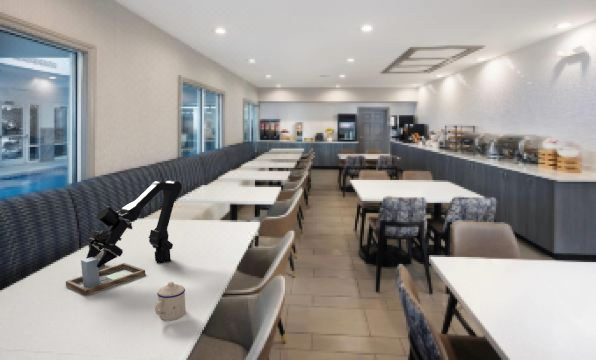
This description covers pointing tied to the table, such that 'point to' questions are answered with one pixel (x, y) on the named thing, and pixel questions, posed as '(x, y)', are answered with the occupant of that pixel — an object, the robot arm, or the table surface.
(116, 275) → the pad
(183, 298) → the teacup with lid
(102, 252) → the game die
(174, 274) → the table surface
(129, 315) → the table surface
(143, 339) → the table surface
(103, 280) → the frame
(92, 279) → the slate-blue block
